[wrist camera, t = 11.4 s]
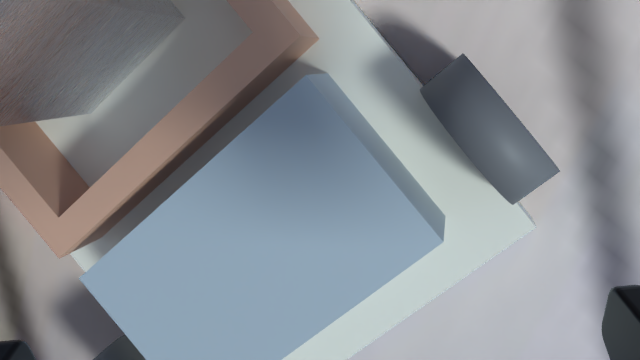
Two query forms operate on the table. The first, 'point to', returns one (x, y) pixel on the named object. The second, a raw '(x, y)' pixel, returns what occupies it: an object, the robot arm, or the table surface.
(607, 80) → the table surface
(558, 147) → the table surface
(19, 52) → the blue-grey rectangular box
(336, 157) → the chassis
